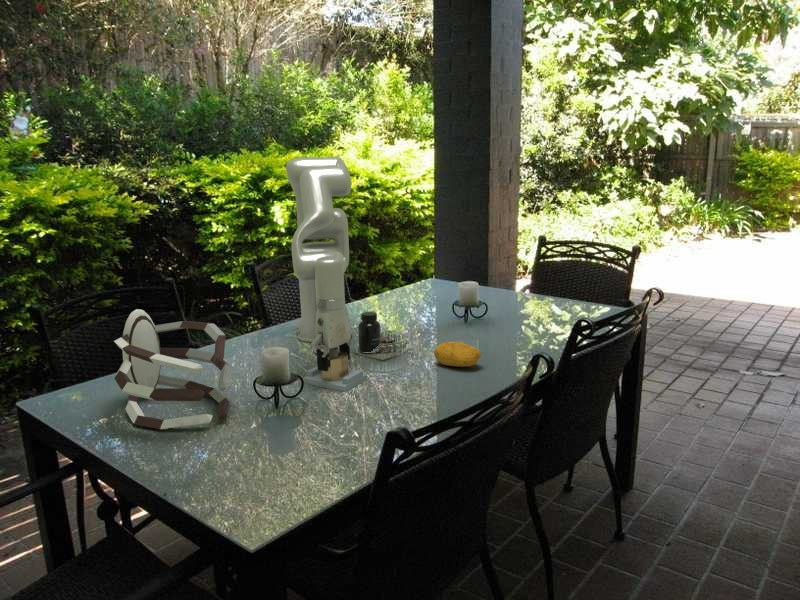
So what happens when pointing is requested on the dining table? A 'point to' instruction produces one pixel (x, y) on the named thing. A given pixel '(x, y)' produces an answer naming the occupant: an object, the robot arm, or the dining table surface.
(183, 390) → the disc with segmented arms
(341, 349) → the robot arm
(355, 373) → the shaft stand
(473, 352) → the potato
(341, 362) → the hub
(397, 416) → the dining table surface
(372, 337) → the supplement bottle
